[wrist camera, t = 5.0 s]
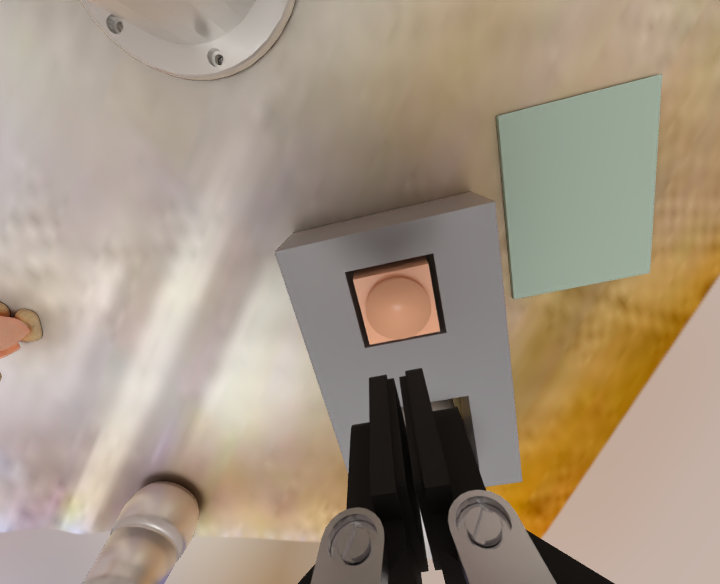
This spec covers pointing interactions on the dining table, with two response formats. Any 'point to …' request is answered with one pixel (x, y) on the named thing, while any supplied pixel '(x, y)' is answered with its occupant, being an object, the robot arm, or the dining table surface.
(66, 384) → the dining table surface
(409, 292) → the square push button
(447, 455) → the robot arm
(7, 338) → the grandmother figurine
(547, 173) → the mat
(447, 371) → the housing
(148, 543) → the plastic bottle
